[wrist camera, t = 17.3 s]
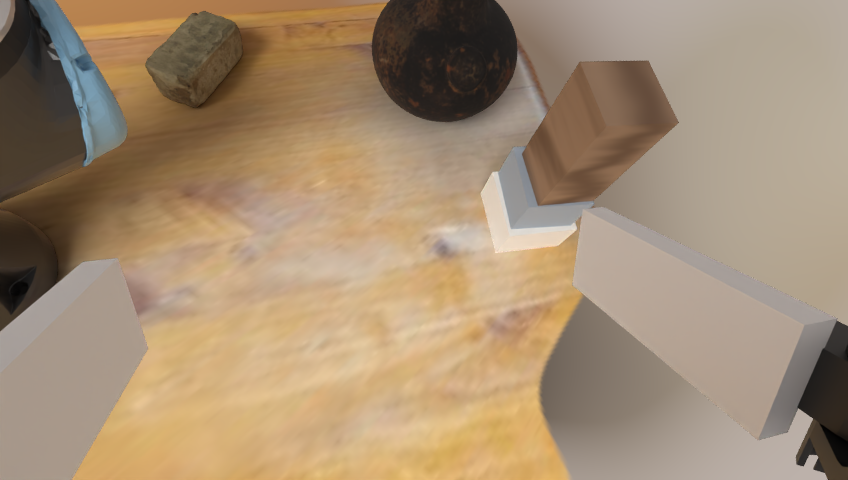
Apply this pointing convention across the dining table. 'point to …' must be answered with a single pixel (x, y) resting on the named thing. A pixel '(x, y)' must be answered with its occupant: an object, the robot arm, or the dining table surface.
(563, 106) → the walnut block
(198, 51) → the stone block
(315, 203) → the dining table surface
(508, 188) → the tower top block
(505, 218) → the tower base block
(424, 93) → the dark brown bulbous vessel
